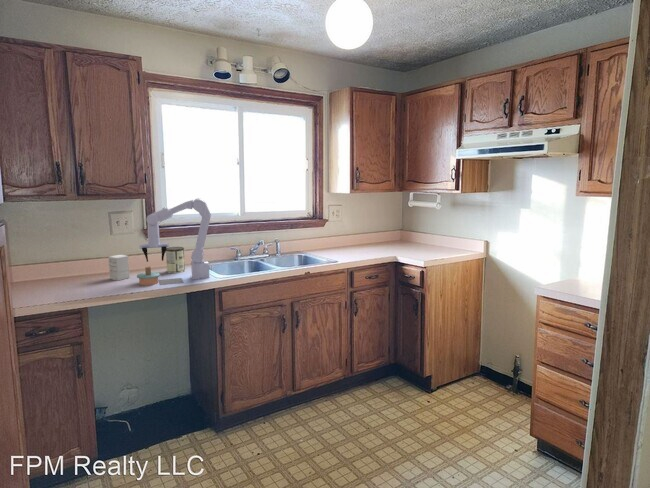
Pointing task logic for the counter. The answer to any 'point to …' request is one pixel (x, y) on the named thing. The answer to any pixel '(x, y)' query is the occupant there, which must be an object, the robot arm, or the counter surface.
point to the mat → (170, 281)
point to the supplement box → (119, 267)
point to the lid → (148, 274)
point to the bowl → (148, 281)
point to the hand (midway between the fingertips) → (155, 260)
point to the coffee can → (175, 259)
